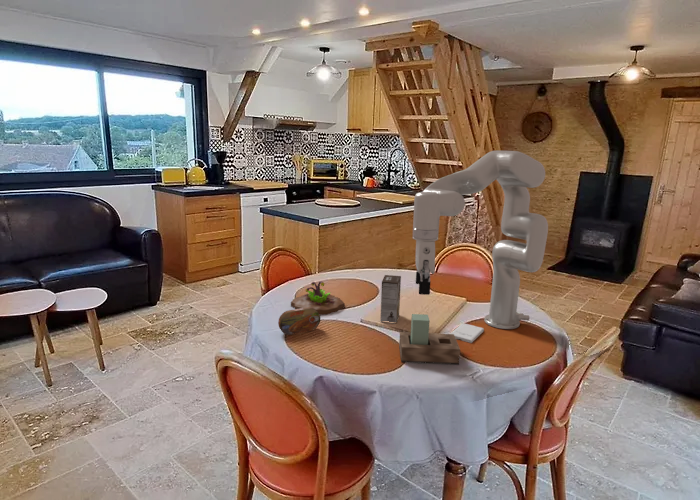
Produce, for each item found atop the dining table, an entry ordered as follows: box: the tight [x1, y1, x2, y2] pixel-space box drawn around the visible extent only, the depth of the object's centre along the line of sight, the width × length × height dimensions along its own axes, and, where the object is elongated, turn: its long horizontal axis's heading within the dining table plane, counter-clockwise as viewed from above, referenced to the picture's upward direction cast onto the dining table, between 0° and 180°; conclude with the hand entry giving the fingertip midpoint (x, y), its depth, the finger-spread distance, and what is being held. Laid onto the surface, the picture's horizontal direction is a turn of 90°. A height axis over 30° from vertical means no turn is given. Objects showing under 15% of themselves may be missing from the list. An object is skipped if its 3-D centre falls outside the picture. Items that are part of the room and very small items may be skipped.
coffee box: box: [379, 274, 402, 323], centre depth 167 cm, size 9×6×16 cm
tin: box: [278, 307, 321, 336], centre depth 155 cm, size 15×3×8 cm, turn 117°
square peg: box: [410, 313, 430, 345], centre depth 139 cm, size 5×5×12 cm
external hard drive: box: [449, 322, 485, 344], centre depth 156 cm, size 2×8×12 cm
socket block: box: [398, 331, 461, 366], centre depth 139 cm, size 18×11×5 cm, turn 87°
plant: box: [290, 280, 346, 316], centre depth 179 cm, size 20×20×11 cm
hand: (422, 288), depth 135 cm, fingers open, 9 cm apart
